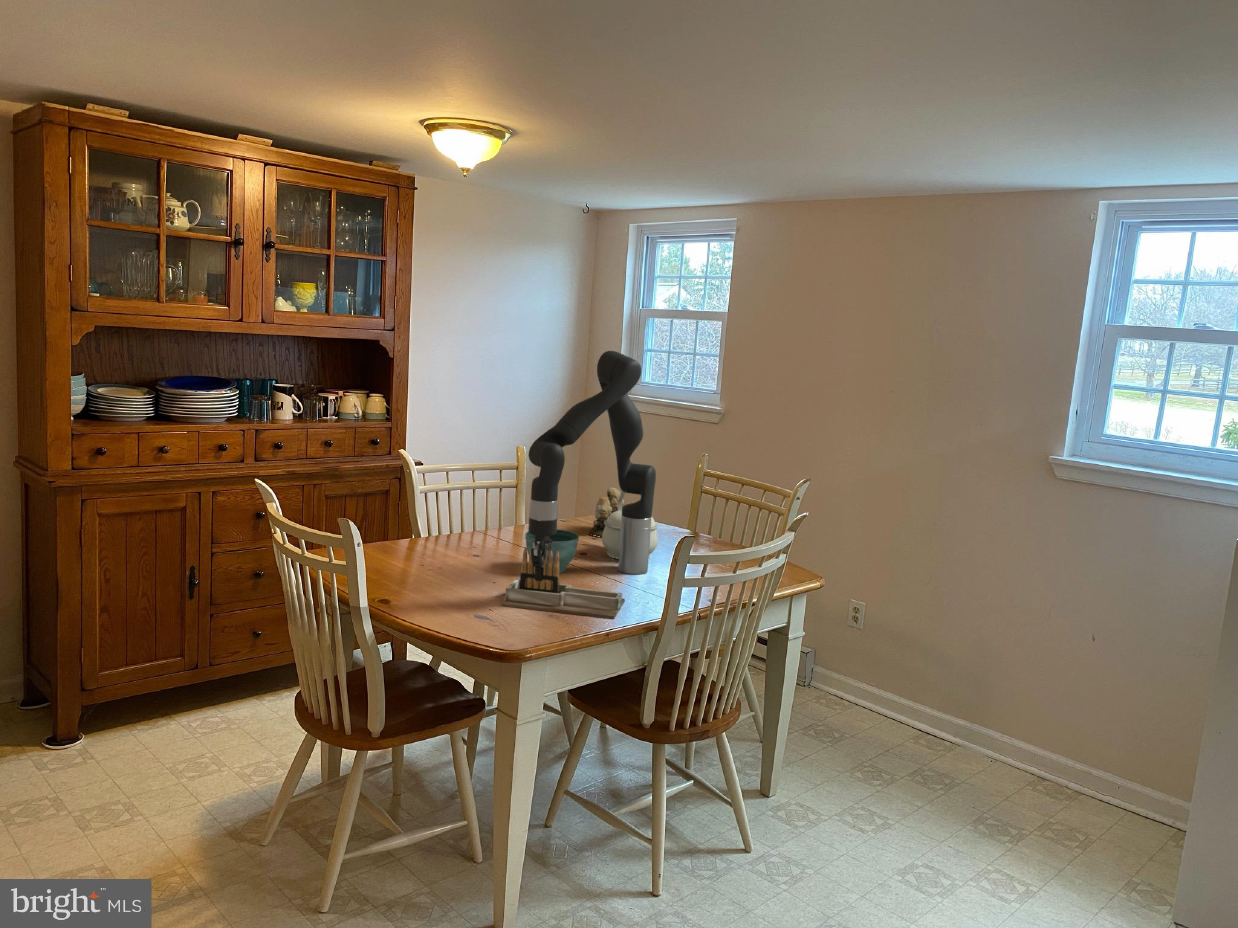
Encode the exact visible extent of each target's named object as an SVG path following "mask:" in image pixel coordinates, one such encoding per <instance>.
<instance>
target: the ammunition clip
mask: <svg viewBox="0 0 1238 928" xmlns="http://www.w3.org/2000/svg"><path fill="white" fill-rule="evenodd" d="M531 549H532V548H531ZM542 556H544V555H542ZM537 562H539V561H537ZM546 569H547V573H546ZM559 569H560V566H559V552H558V551H557V552H556V555H555V562H554V568H553V554H552V550H550V552H549V557H548V564H546V559H545V560H544V573H543V580H542V581H536V580H535V567H534V566H533V565H532V556H531V550H530V554H528V551H527V547H526V546H525V547H524V549H523V552H522V561H521V570H520V577H519V579H520V587H519V589H523V590H531V591H540V592H549V593H558V594H559V584H560V573H559ZM539 583H540V584H539ZM552 583H553V584H552Z"/></svg>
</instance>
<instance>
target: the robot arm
mask: <svg viewBox="0 0 1238 928" xmlns="http://www.w3.org/2000/svg"><path fill="white" fill-rule="evenodd" d="M641 366H642V365H641V364H640V362H639V361H638V360H636V359H635V358H634V359H633V358H632V357H630V356H627V355H625V354H623V353H621V352H618V351H615V350H607V351H604V352H603V353H602V354H601V355H600V357H599V359H598V361H597V364H596V375H597V378H598V383H599V385H600V388H601V391H600V392H598V393H595V394H594V395H592V396H589V397H588V398H586V399H584V400H582V401H580V402H577V403H576V404H574V405H573V406H572V407H571V408H569V409H567V411H566V412H565V413H564V415H563V416H561V418H560V419H559V420H558V421H557V423H556V424H555V425H554V426H552V427H551V428H549V429H548V430H547V431H545V432H544V433H542V435H540V436H539V437H538V438H536V439H535V440H534V441H533V442H532V444H531V446H530V447H529V450H528V459H529V462H530V463H531V464H533V465H534V466H535V467H536V466H537V467H538V468H540V471H539V475H538V476H536V477H534V478H533V479H532V481H531V487H530V488H531V489H530V491H531V493H530V503H529V507H528V508H529V509H528V527H527V529H528V531H527V532H529V533H530V534H532V535H535V541H533V548H534V549H533V548H532V549H531V556H532V565H533V566H534V567H535V580H536V581H542V580H543V573H544V560H545V559H546V564H547V561H548V557H549V552H550V550H551V544H552V540H550V539H549V536H553V535H555V534H556V532H557V529H558V512H559V509H558V507H559V505H558V496H559V495H558V493H559V483H560V480H561V478H562V475H563V470H564V468H565V467H564V466H565V460H566V459H565V451H564V449H563V448H564V447H567V446H572V445H573V444H575V443H576V442H577V440H579V439H580V438H581V436H582V435H583V434H584V433H585V432H586V431H587V429H588V428H589V427H590V426H591V425H592V424H593V423H594V422H595V421H596V420H597V419H598V418H599V417H600V416H601V415H602V414H604V413H605V412H606V411H607V414H608V420H609V428H610V433H611V437H612V442H613V445H614V451H615V457H616V458H615V459H616V469H617V477H618V478H617V480H618V485H619V488H620V490H621V492H622V491H623V492H625V494H631V495H632V494H633V495H639V496H640V495H641V499H640V498H639V500H638V501H636V502H630V503H631V504H630V503H627V504H624V506H623V508H622V516H621V532H620V547H619V560H618V562H617V563H618V565H617V570H618V571H619V572H621V573H624V574H630V575H641V574H647V573H648V571H649V559H650V558H649V546H650V531H651V517H652V518H653V516H652V514H653V508H654V507H653V505H654V499H655V498H654V495H655V488H656V481H657V472H656V468H655V467H654V466H653V465H648V464H641V463H632V462H631V457H632V456H633V453H634V452H635V451H636V449H637V448H638V447H639V446H640V444H641V443H642V440H643V438H644V427H643V421H642V417H641V414H640V411H639V409H638V408H637V406H636V404H635V403H634V402H633V400H632V398H631V397H630V396H629V394H628V393H629V392H630V391H631V390H632V389H633V388H634V387H635V386H636V385H637V384H638V382H639V380H640V378H641V376H642V367H641ZM542 555H544V556H542ZM537 561H539V562H537Z"/></svg>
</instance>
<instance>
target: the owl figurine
mask: <svg viewBox="0 0 1238 928" xmlns="http://www.w3.org/2000/svg"><path fill="white" fill-rule="evenodd" d="M620 494H621V491H620V490H619V489H617V488H615V487H609V488H607V491H606V495H607V497H606V496H599V497H598V501H597V503H596V506H595V511H594V513H595V514H594V516H595V519H596V520H593V525H592V528H590V529H589V532H588V534H589V533H590V534H592V535H596V536H600V537H602V534H603V531H604V528H605V526H606V525H605V524H604V521H605V520H607V519H608V517H609V516H610V515H611V514H612V513H614V512H616V511H618V500H619V497H620ZM624 505H625V500H624V499H623V500H622V508H623V506H624ZM590 534H589V535H590Z"/></svg>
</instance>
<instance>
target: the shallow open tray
mask: <svg viewBox="0 0 1238 928" xmlns="http://www.w3.org/2000/svg"><path fill="white" fill-rule="evenodd" d="M539 584H540V583H539ZM552 584H553V582H552ZM519 587H520V578H515V580H514V581H513V582H511V584H509V585H508V586H507V587H506V588H505V596H504V597H505V598H504V600H503V601H502V602H501V606H502V607H509V608H518V609H526V610H534V611H543V612H552V613H559V614H568V615H577V616H584V615H586V617H593V616H594V617H593V618H603V619H609V620H610V619H611V620H615V619H616V617H617V615H618V614H619V611H620V610H621V609H622V607H623V605H624V603H625V601H626V599H625V598H623V593H622V592H616V591H606V590H600V589H598V590H597V589H590V588H581V587H572V584H564V583H559V594H558V593H549V592H540V591H531V590H523V589H519Z"/></svg>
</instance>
